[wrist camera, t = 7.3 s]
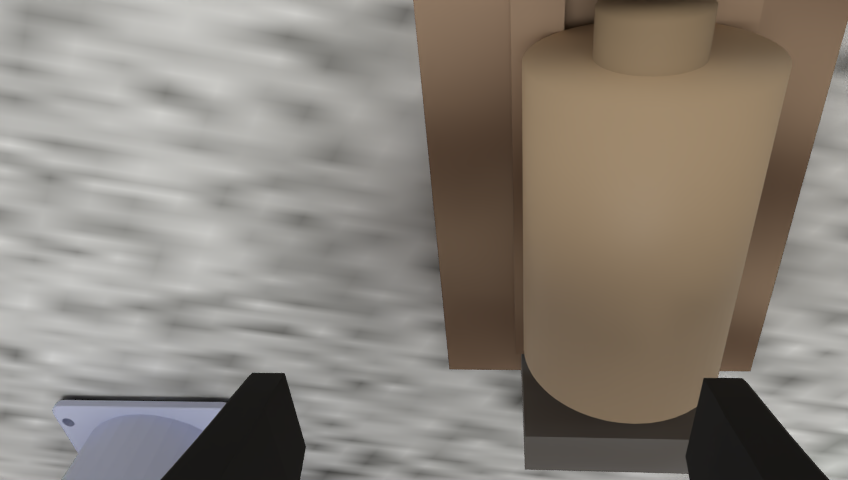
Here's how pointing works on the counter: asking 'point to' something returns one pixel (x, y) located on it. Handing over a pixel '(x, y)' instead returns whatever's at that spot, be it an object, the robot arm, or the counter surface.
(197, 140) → the counter surface
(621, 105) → the bottle
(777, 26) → the cradle
